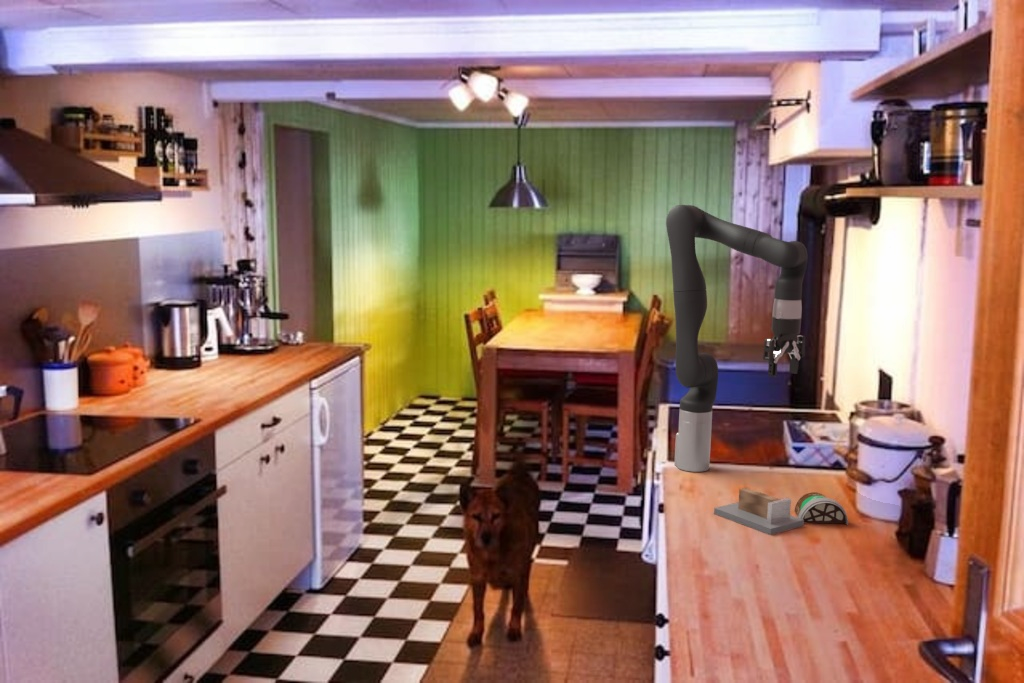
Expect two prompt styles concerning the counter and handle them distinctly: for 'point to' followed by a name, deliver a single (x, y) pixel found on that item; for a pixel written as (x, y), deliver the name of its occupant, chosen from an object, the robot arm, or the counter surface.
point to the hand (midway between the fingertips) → (783, 374)
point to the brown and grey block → (764, 505)
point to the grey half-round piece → (820, 509)
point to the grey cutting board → (756, 520)
